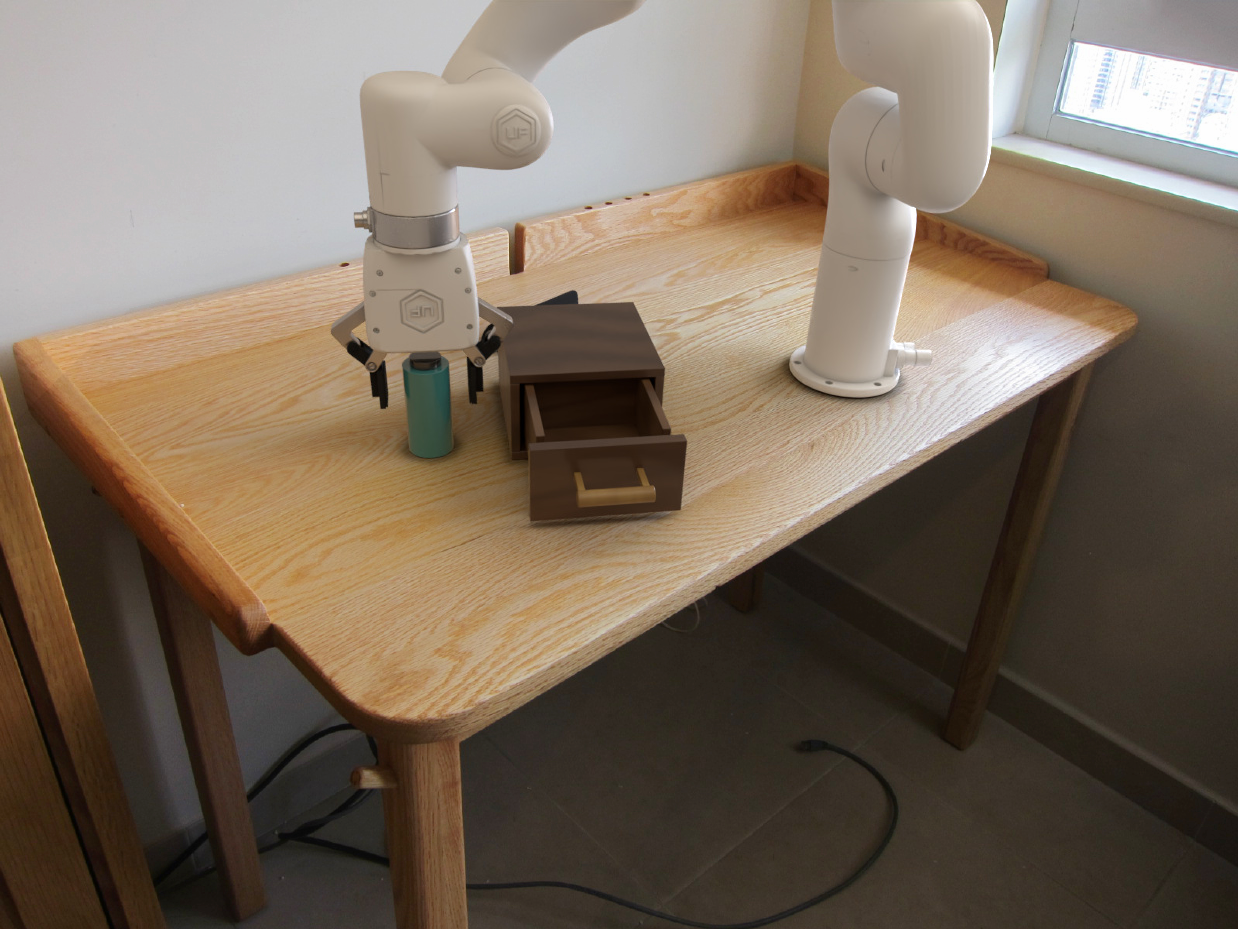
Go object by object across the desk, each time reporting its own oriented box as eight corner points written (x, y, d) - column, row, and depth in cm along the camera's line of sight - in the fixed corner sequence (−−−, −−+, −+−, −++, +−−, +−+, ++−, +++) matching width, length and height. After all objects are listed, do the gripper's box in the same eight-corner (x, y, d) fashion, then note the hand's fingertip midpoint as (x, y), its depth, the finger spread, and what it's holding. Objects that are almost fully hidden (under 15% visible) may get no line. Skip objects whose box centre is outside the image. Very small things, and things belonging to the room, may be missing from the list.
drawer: (692, 539, 85) (699, 467, 81) (535, 551, 82) (535, 478, 78) (647, 428, 100) (652, 363, 96) (514, 436, 98) (513, 370, 94)
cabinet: (659, 450, 99) (665, 368, 94) (511, 460, 96) (509, 375, 91) (629, 377, 112) (633, 301, 107) (498, 384, 109) (496, 306, 104)
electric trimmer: (586, 316, 126) (586, 292, 124) (501, 353, 115) (500, 329, 114) (563, 308, 128) (564, 285, 126) (478, 344, 117) (477, 319, 115)
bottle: (456, 435, 99) (451, 346, 94) (450, 459, 96) (445, 367, 90) (413, 434, 99) (405, 344, 94) (405, 457, 96) (397, 365, 90)
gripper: (309, 241, 81) (334, 424, 91) (519, 236, 84) (522, 414, 94) (316, 212, 87) (338, 386, 97) (511, 208, 90) (515, 377, 100)
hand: (428, 399), depth 95 cm, fingers open, 7 cm apart
